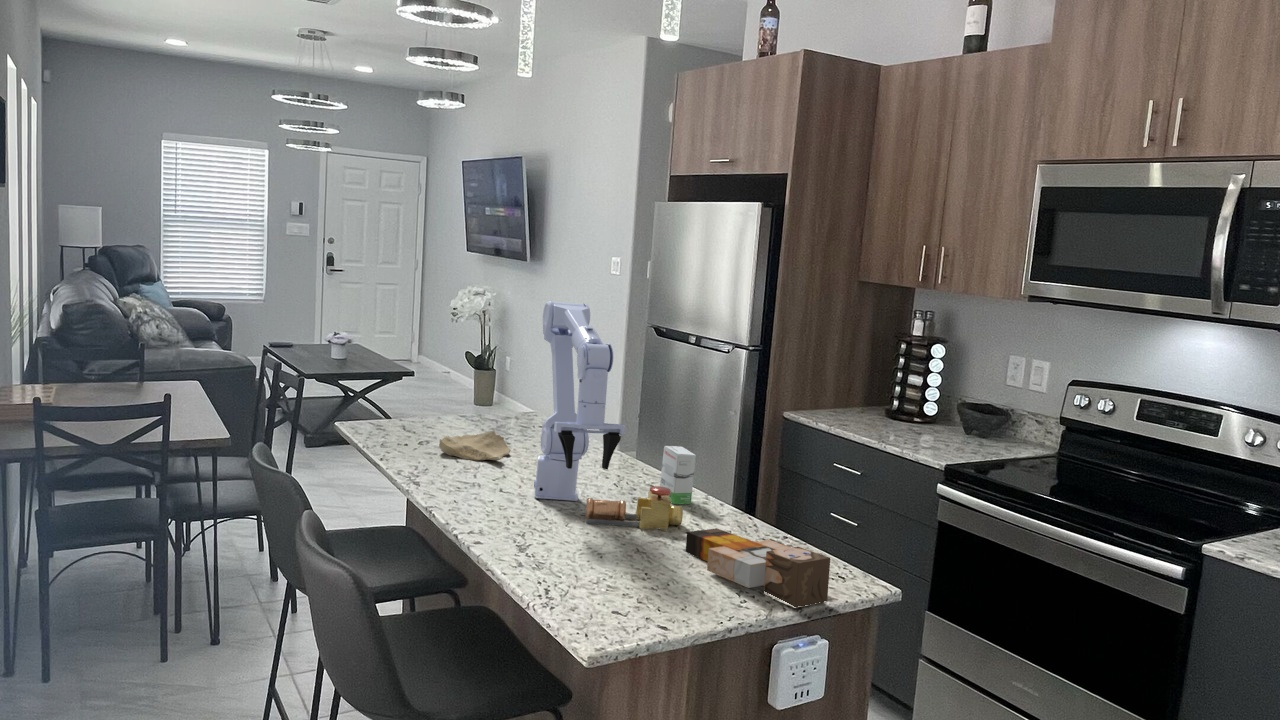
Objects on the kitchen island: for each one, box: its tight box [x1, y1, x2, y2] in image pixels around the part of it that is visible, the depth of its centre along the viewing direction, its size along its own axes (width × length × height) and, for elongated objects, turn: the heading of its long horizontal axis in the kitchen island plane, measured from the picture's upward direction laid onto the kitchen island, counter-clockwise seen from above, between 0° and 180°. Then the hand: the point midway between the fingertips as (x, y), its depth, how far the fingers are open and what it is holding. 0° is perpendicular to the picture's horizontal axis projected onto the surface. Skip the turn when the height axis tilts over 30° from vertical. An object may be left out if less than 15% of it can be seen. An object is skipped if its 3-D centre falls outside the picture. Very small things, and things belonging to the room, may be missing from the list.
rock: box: [438, 430, 512, 462], centre depth 239 cm, size 18×15×4 cm
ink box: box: [659, 445, 697, 505], centre depth 217 cm, size 9×5×12 cm, turn 22°
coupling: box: [584, 497, 627, 521], centre depth 195 cm, size 8×4×4 cm, turn 97°
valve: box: [635, 485, 684, 530], centre depth 196 cm, size 9×8×8 cm
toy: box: [685, 528, 831, 607], centre depth 172 cm, size 15×8×30 cm
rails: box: [585, 512, 640, 528], centre depth 196 cm, size 11×6×1 cm, turn 97°
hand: (587, 468), depth 191 cm, fingers open, 7 cm apart
